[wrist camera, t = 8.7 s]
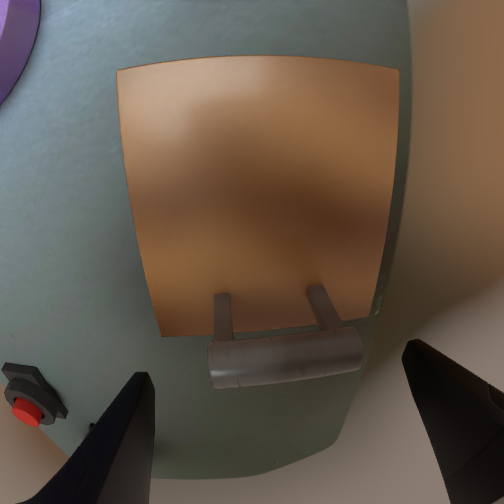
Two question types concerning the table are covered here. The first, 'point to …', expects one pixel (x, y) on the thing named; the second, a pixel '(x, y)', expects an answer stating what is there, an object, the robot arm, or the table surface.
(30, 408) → the button
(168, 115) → the box lid
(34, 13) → the tape roll
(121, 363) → the table surface
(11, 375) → the control block
